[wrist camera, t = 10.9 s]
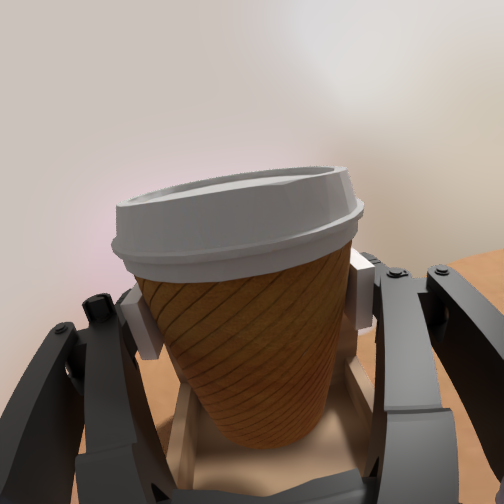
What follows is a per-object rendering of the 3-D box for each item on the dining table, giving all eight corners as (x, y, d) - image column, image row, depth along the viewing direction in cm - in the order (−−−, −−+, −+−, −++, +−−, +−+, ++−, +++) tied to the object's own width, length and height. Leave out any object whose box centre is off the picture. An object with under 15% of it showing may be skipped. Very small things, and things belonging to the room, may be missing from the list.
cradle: (409, 516, 9) (485, 435, 5) (179, 552, 9) (80, 498, 5) (348, 375, 24) (351, 273, 21) (194, 400, 24) (158, 304, 21)
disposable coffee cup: (326, 342, 19) (315, 163, 15) (377, 449, 10) (420, 172, 6) (192, 363, 18) (146, 190, 15) (177, 481, 9) (46, 232, 6)
